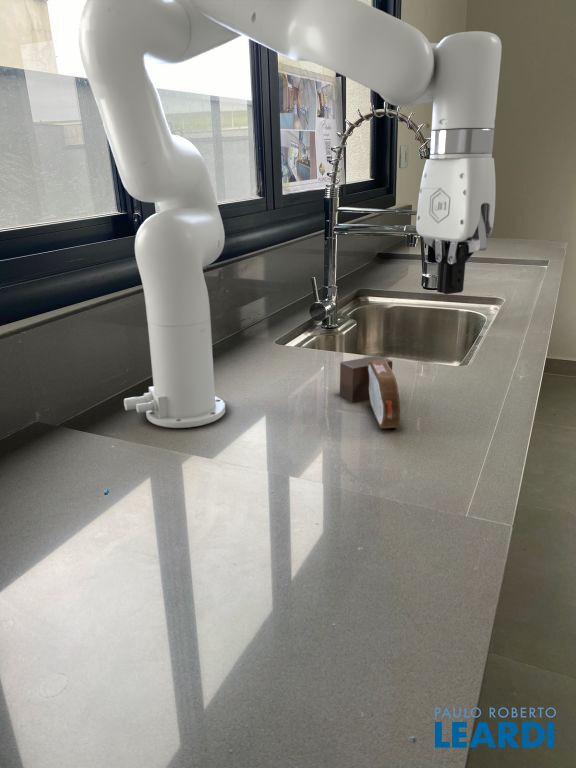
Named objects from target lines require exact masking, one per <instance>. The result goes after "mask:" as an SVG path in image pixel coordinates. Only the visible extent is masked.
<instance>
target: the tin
mask: <svg viewBox="0 0 576 768" xmlns="http://www.w3.org/2000/svg"><path fill="white" fill-rule="evenodd" d="M386 359H387V358H386ZM386 359H382V360H372V361H369V363H368V372H369V388H368V389H369V398H370V399H369V403H370V407H371V409H372V412H373V415H374V417H375V419H376V422H377V425H378V427H379V428H380V429H399V427H400V422H401V403H400V401H401V400H400V393H399V386H398V382H397V379H396V378H397V377H396V375H395V373H394V371H393V369H392V370H391V368H390V367H389V365H388V363H387V361H386Z"/></svg>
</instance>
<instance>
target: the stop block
mask: <svg viewBox="0 0 576 768" xmlns="http://www.w3.org/2000/svg"><path fill="white" fill-rule="evenodd" d="M382 359H386V361H387V363H388V365H389V367H390V368H391V370H392V371H393V360H391V359H388V358H386V357H384V356H381V355H379V354H378V355H372V356H368V357H362V358H355V359H351V360H345V361H340V362H339V396H341V397H342V398H344V399H346V400H347V401H350V402H351V403H355V402H361V401H365V400H370V398H369V389H368V388H369V372H368V363H369V361H372V360H382Z"/></svg>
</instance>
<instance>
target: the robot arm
mask: <svg viewBox="0 0 576 768" xmlns="http://www.w3.org/2000/svg"><path fill="white" fill-rule="evenodd" d="M80 15H81V16H80V20H79V27H78V47H79V54H80V58H81V62H82V66H83V69H84V72H85V75H86V78H87V80H88V83H89V87H90V89H91V91H92V95H93V97H94V99H95V102H96V106H97V108H98V112H99V114H100V118H101V122H102V125H103V128H104V132H105V135H106V138H107V141H108V144H109V146H110V150H111V153H112V156H113V159H114V163H115V165H116V168H117V172H118V174H119V177H120V179H121V183H122V185H123V187H124V189H125V191H127V193H128V194H129V195H130V196H131V197H132V198H133V199H135V200H137V201H141V202H144V203H157V204H158V208H159V212H155V213H154V214H152V215H150V216H149V217H147V218H146V219H145V220H144V221H143V222H142V224H141V225H139V228H138V229H137V232H136V234H135V239H134V255H135V260H136V264H137V269H138V272H139V275H140V279H141V284H142V289H143V294H144V302H145V303H144V304H145V311H146V312H145V313H146V321H147V331H148V342H149V351H150V353H149V354H150V362H151V374H152V386H148V392H144V393H143V395H141V396H131V397H126V398H124V399H123V406H124V409H125V411H132V410H136V413H137V414H141V413H145V415H146V416H145V417H146V419H147V420H148V421H149V423H152V424H153V425H156V426H159V427H163V428H169V429H170V428H171V429H186V428H187V429H189V428H196V427H200V426H205V425H208V424H211V423H213V422H216V421H218V420H219V419H220V418H222V417H223V416H224V415H225V413H226V403H225V401H224V400H223V399H221V398H220V397H218V396H216V393H215V391H216V389H215V373H214V357H213V339H212V322H211V306H210V298H209V291H208V286H207V283H206V280H205V275H204V270H203V268H205V267H207V266H209V265H211V264H212V263H214V262H215V261H216V260H217V259H218V258H219V257H220V256H221V254H222V252H223V249H224V248H225V247H224V246H225V239H226V235H225V234H226V233H225V228H224V223H223V219H222V216H221V212H220V209H219V205H218V203H217V198H216V195H215V192H214V189H213V185H212V181H211V178H210V174H209V171H208V168H207V165H206V162H205V160H204V158H203V156H202V154H201V153H200V151H199V150H198V149H197V147H196V146H195V145H194V144H193V143H192V142H191V141H190V140H188V139H186V138H184V137H182V136H181V135H176V134H172V132H171V129H170V127H169V123H168V121H167V118H166V114H165V112H164V108H163V105H162V100H161V98H160V95H159V92H158V89H157V87H156V85H155V83H154V81H153V80H152V77H151V75H150V73H149V72H148V69H147V67H146V62H145V59H146V60H149V61H152V62H154V63H155V64H159V65H160V64H161V65H168V66H170V65H177V64H181V63H184V62H187V61H189V60H191V59H193V58H196V57H198V56H200V55H203V54H205V53H207V52H209V51H211V50H214V49H217V48H219V47H220V46H222V45H226V44H228V43H230V42H232V41H234V40H237V38H241V36H242V37H244V38H247V39H249V40H251V41H253V42H255V43H257V44H259V45H262V46H263V47H265V48H267V49H269V50H271V51H273V52H276V53H277V54H279V55H281V56H283V57H286V58H288V59H291V60H293V61H297V62H309V63H312V64H316V65H318V66H321V67H323V68H325V69H328V70H330V71H332V72H334V73H337V74H338V75H341V76H343V77H345V78H347V79H349V80H351V81H354V82H355V83H358V85H359V84H360V85H361V86H364V87H365V88H368V89H369V90H371V91H373V92H375V93H377V94H378V95H379V96H380V97H381V99H383V101H385V102H386V103H388V104H390V105H392V106H396V107H411V106H415V105H416V106H417V105H422V104H427V103H432V114H431V115H432V116H431V131H430V133H431V135H430V142H429V147H430V148H429V159H428V158H426V160H425V163H424V167H423V171H422V176H421V180H420V186H419V191H418V200H417V209H416V210H417V211H416V222H415V230H416V233H417V234H418V235H419V236H420V237H422V238H423V243H424V244H425V245H427V246H429V247H431V248H432V249H433V250H434V251H433V252H434V253H435V261H436V262H437V263H438V266H437V267H438V268H437V283H436V292H437V293H439V294H443V295H451V294H452V295H453V294H459V293H463V291H464V284H465V283H464V282H465V274H466V272H465V271H466V264H468V263H469V262H470V260H471V257H472V255H474V253H479V252H484V251H486V250H487V248H488V243H487V242H488V241H487V239H489V238H490V236H491V235H492V232H493V228H494V222H495V214H496V213H495V211H496V168H495V158H494V157H492V156H493V154H492V153H493V148H494V147H493V146H494V134H495V125H496V124H495V123H496V122H495V121H496V114H497V104H498V92H499V82H500V72H501V62H502V61H501V60H502V49H503V48H502V41H501V39H500V37H499V36H498V35H497V34H495V33H493V32H490V31H481V30H480V31H479V30H473V31H462V32H455V33H452V34H449V35H447V36H445V37H443V39H442V40H440V42H430V41H429V39H428V38H427V37H426V35H424V33H423V32H421V31H420V30H419V29H418V28H416V27H415V26H413V25H411V24H409V23H408V22H405V21H404V20H402V19H399V18H397V17H396V16H393V15H392V14H389V13H387V12H385V11H383V10H380V9H378V8H377V7H374V6H372V5H371V4H368V3H366V2H364V1H361V0H86V2H85V4H84V6H83V10H82V11H81V14H80Z"/></svg>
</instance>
